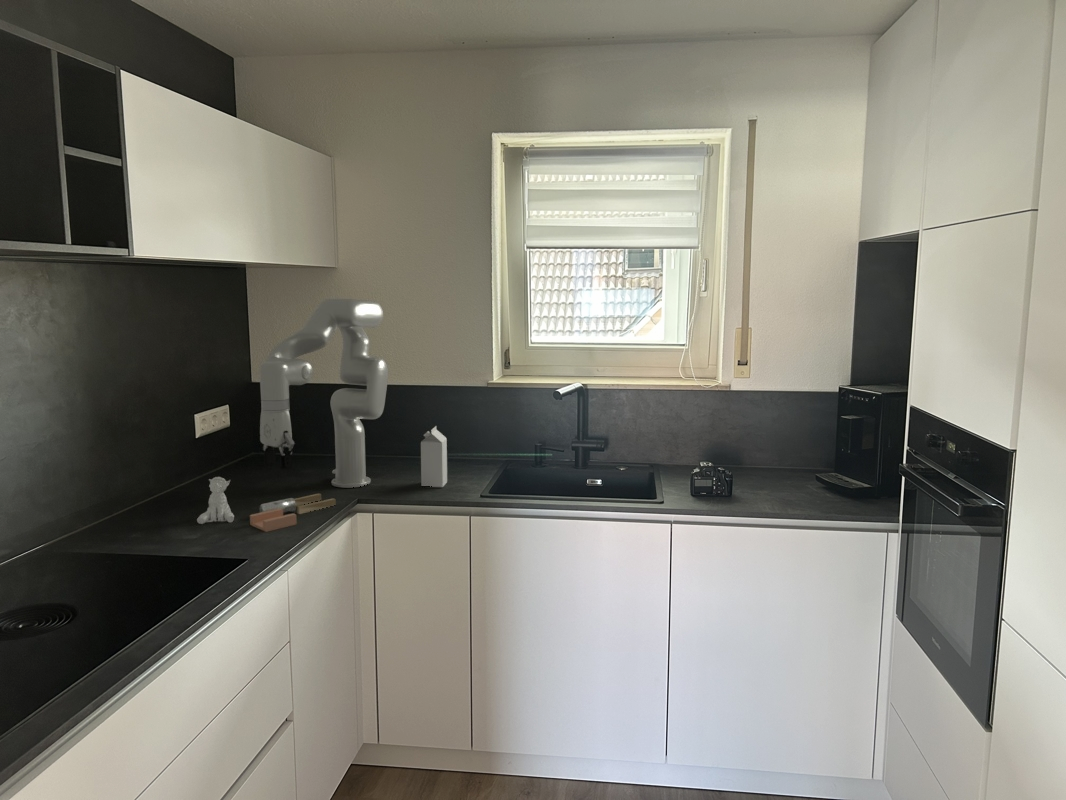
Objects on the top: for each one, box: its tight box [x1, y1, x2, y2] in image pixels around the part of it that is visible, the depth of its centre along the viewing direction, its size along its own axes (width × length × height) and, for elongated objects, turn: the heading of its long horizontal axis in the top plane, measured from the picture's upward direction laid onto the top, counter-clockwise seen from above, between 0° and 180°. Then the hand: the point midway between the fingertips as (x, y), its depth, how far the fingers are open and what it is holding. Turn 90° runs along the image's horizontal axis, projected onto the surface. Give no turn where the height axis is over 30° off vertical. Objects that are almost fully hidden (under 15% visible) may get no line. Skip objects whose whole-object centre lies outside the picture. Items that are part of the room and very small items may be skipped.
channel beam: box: [293, 493, 337, 515], centre depth 227 cm, size 9×12×2 cm
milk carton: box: [420, 425, 448, 488], centre depth 252 cm, size 7×7×19 cm
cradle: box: [249, 508, 298, 533], centre depth 210 cm, size 9×9×3 cm
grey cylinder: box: [259, 497, 297, 515], centre depth 220 cm, size 9×4×4 cm, turn 136°
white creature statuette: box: [196, 476, 235, 525], centre depth 214 cm, size 10×9×12 cm
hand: (278, 466), depth 218 cm, fingers open, 8 cm apart
